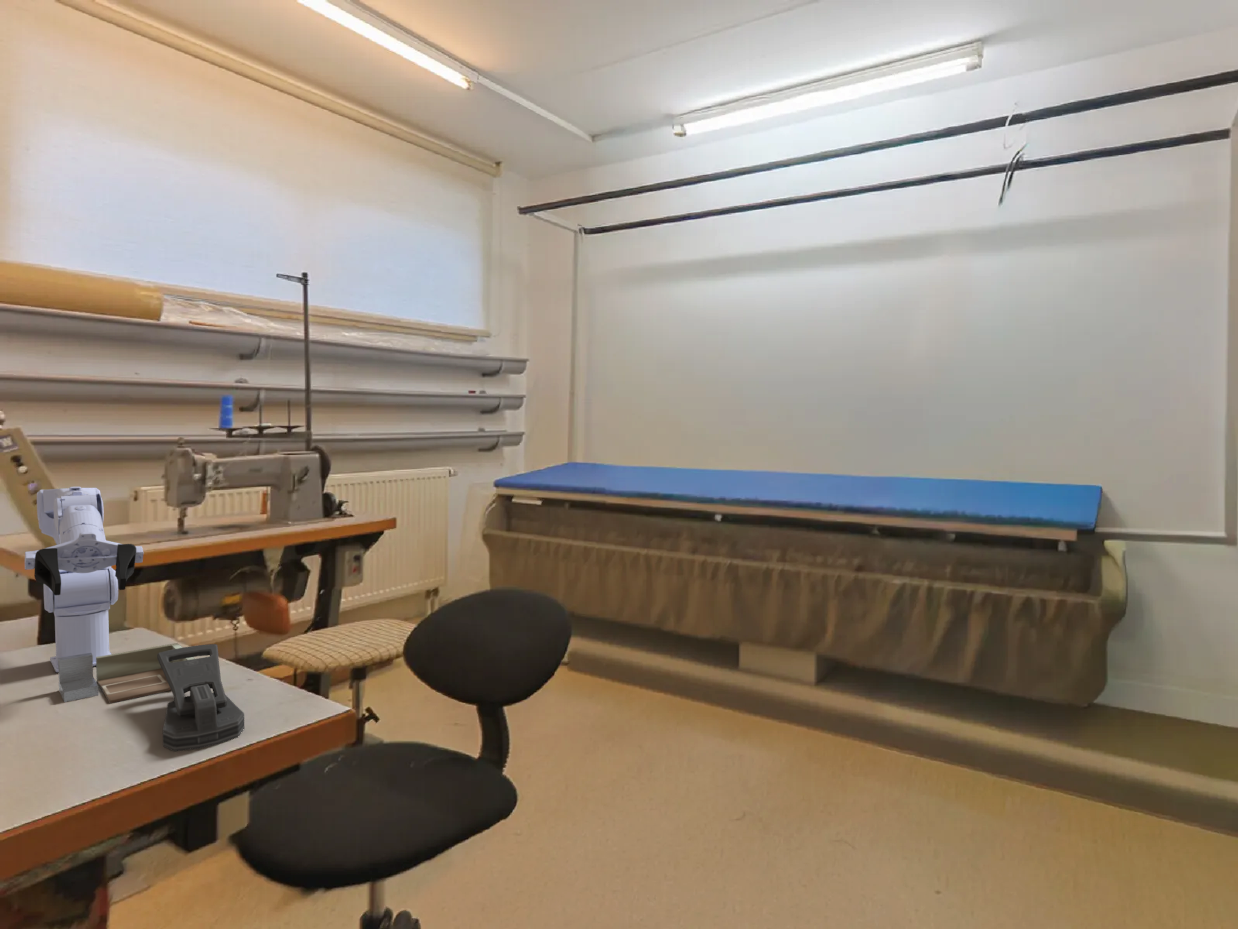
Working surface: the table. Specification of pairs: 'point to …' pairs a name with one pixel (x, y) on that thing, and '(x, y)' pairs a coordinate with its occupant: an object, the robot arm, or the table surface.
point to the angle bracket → (76, 677)
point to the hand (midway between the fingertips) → (91, 586)
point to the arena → (133, 673)
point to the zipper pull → (197, 700)
